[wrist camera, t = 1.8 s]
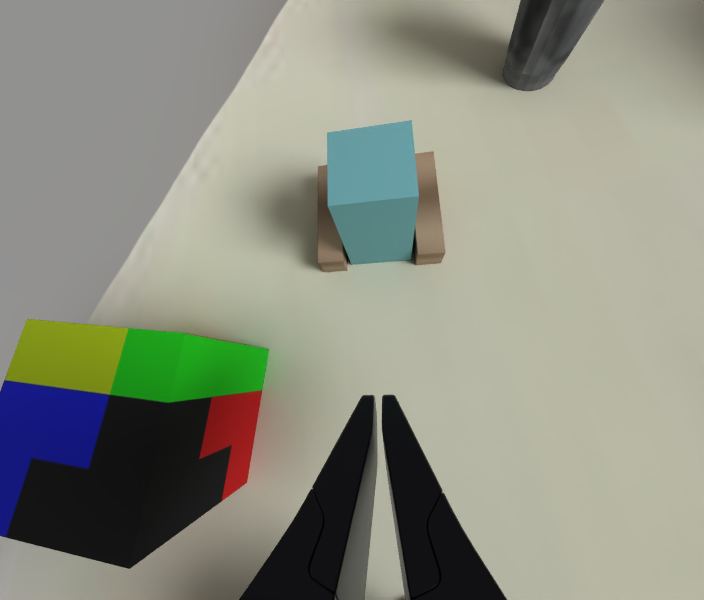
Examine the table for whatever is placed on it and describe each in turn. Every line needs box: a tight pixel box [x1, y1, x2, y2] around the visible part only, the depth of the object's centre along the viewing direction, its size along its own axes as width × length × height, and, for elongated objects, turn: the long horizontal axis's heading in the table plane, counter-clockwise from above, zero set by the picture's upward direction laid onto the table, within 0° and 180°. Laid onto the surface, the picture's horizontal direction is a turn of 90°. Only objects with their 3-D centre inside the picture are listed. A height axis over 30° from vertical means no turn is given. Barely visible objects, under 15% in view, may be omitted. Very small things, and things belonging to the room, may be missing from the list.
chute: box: [318, 152, 445, 272], centre depth 24 cm, size 9×10×2 cm
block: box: [327, 120, 419, 264], centre depth 21 cm, size 5×5×9 cm
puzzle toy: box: [0, 319, 269, 569], centre depth 19 cm, size 10×10×10 cm
